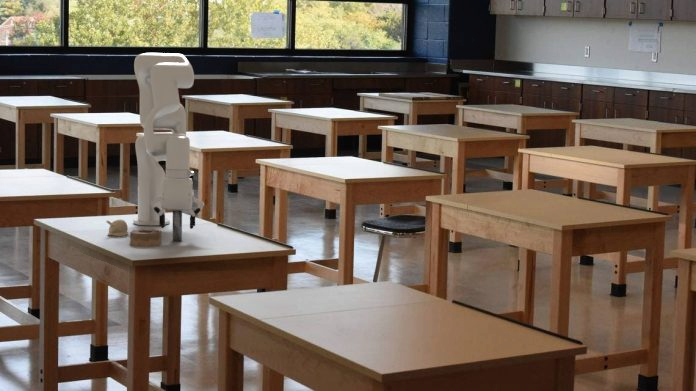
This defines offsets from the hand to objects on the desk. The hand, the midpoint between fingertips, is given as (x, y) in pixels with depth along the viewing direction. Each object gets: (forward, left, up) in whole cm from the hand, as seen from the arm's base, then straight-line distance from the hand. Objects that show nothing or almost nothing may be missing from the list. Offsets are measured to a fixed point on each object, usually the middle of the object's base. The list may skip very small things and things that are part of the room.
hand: (177, 227), depth 375 cm
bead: (+7, -9, -4) cm, 12 cm away
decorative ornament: (-9, -21, -5) cm, 23 cm away
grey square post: (0, 0, -4) cm, 4 cm away
